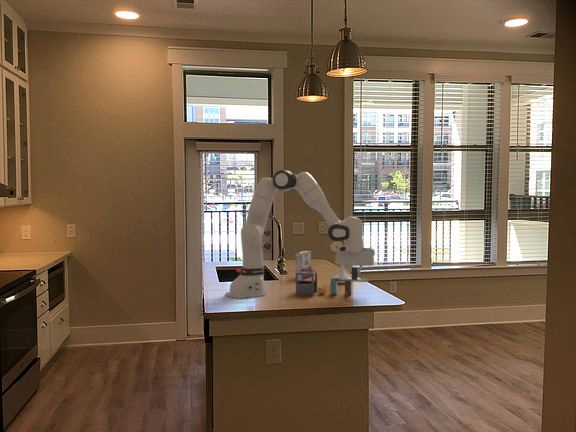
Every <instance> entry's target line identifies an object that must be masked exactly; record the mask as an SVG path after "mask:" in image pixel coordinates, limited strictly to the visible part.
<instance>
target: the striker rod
mask: <svg viewBox="0 0 576 432" xmlns="http://www.w3.org/2000/svg"><path fill="white" fill-rule="evenodd" d="M351 270H352V274H351V279H348V278H337V277H335V276H333V277H332V276H331V277H330V285H329V287H330V288H329V289H330V293H329V294H330V295H337V294H338V283H337V281H345V280H351V283H352V282H354V283H369V279H368V278H358V276H359V274H357V273H358V272H357V271H358V270H359V268H358V266H351Z"/></svg>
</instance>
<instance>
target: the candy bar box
mask: <svg viewBox="0 0 576 432" xmlns="http://www.w3.org/2000/svg"><path fill="white" fill-rule="evenodd" d="M294 254H295V255H294V256H295V258H294V259H295V273H296V272H298V271H299V270H312V251H311V250H303V251H299V252H295V253H294ZM302 273H313V272H311V271H302ZM307 278H312V277H311V275H302V280H305V279H307Z"/></svg>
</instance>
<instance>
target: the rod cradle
mask: <svg viewBox="0 0 576 432" xmlns="http://www.w3.org/2000/svg"><path fill="white" fill-rule="evenodd" d="M351 296H352V282H351V280H345V283H344V297H351Z"/></svg>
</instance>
